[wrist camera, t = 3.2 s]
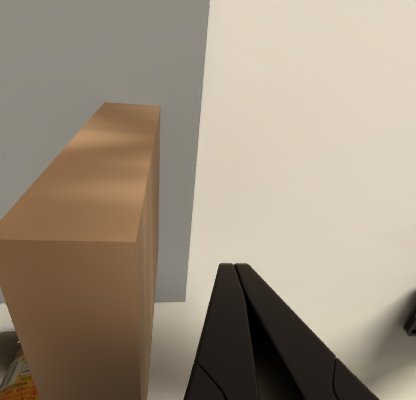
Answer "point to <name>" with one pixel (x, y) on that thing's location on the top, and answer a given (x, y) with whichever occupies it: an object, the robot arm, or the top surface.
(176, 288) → the mat
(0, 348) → the condiment
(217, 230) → the top surface
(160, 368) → the top surface
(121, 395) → the wooden block
